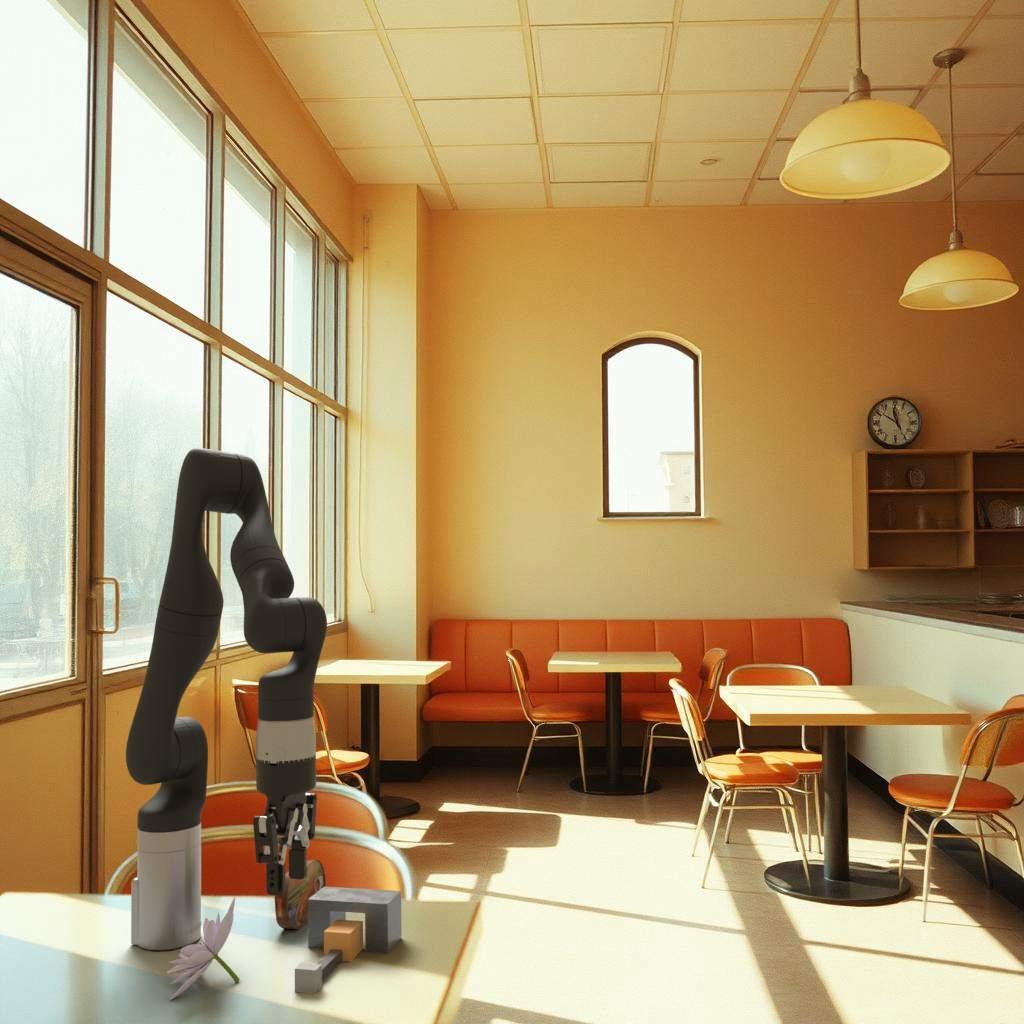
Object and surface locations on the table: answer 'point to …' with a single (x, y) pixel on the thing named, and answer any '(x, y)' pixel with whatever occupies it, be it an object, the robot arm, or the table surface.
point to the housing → (374, 903)
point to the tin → (298, 896)
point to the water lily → (204, 951)
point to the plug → (331, 954)
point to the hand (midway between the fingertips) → (286, 885)
